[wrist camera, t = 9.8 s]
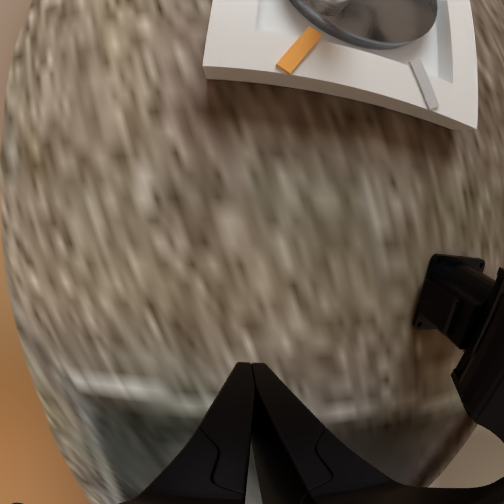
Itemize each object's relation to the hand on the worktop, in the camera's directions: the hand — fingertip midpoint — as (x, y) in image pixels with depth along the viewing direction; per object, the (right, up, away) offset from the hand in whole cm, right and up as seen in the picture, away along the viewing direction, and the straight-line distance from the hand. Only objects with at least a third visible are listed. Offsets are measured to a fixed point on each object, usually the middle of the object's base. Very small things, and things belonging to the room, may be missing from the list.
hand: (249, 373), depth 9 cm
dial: (+7, +22, +5) cm, 23 cm away
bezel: (+7, +22, +6) cm, 24 cm away
